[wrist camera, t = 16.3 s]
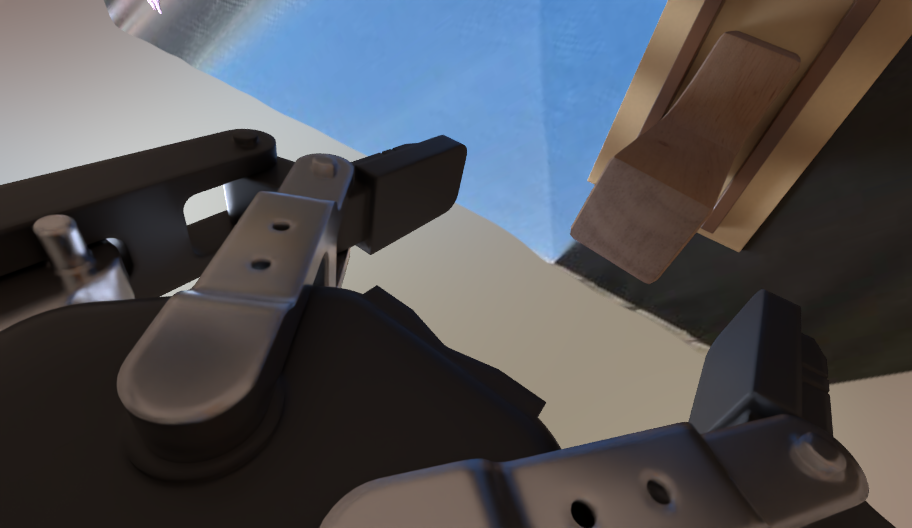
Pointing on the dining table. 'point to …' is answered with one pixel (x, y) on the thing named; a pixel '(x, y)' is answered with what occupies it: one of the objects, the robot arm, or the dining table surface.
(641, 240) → the wooden block
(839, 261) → the dining table surface
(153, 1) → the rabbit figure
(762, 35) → the guide
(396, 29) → the dining table surface
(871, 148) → the dining table surface
